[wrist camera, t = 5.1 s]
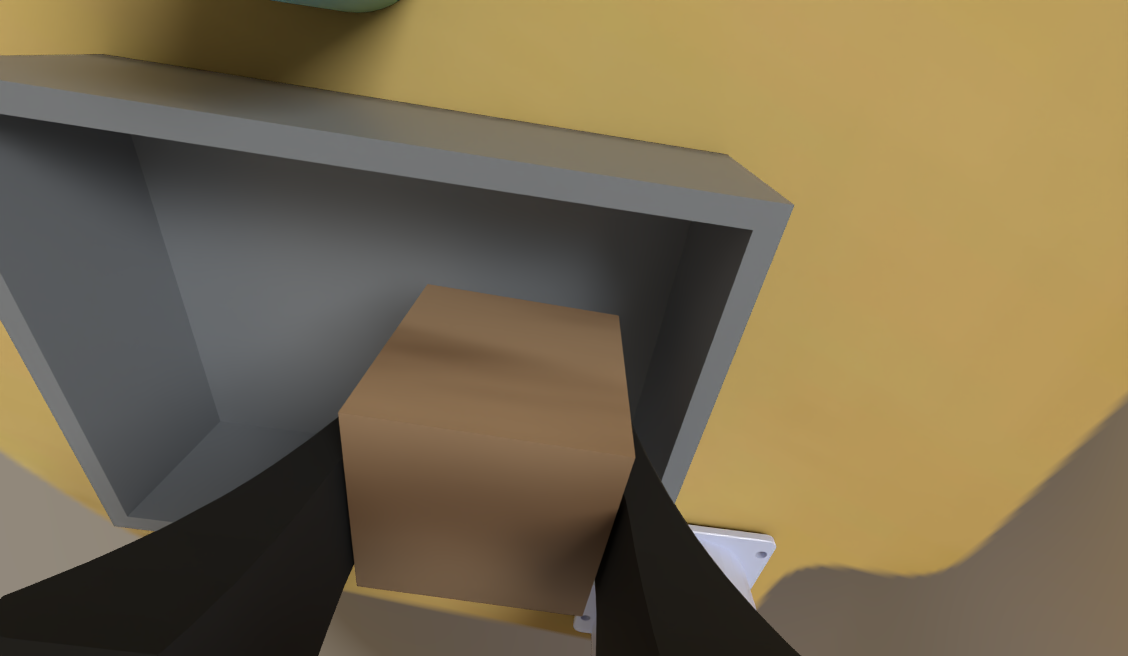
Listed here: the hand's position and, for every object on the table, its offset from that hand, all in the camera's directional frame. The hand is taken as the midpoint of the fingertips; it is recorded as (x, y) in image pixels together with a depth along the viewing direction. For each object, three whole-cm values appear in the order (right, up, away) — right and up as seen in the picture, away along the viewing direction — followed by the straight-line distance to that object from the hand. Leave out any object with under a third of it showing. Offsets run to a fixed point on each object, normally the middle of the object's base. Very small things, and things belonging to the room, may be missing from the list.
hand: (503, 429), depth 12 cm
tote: (-3, +3, +4) cm, 6 cm away
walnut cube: (0, +1, +1) cm, 2 cm away
